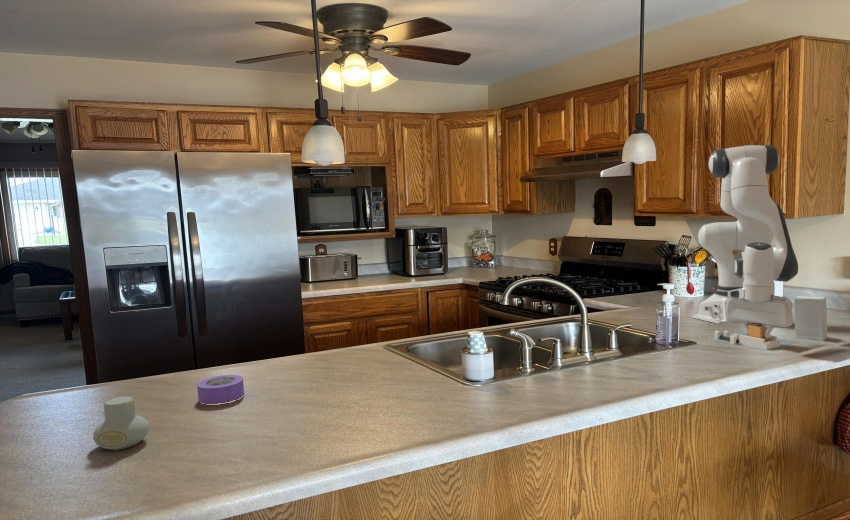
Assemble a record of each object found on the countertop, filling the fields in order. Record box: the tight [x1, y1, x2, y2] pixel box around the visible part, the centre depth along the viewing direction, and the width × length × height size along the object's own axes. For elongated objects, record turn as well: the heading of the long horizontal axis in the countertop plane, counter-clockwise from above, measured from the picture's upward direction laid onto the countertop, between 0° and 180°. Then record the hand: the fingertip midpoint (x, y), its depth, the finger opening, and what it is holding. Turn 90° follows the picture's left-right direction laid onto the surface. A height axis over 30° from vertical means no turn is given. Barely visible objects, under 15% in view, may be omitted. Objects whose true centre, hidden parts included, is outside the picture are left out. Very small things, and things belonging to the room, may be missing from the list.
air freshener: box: [92, 396, 150, 451], centre depth 127 cm, size 11×8×10 cm
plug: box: [748, 322, 768, 342], centre depth 187 cm, size 4×4×6 cm
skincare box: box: [793, 295, 828, 342], centre depth 193 cm, size 8×6×15 cm
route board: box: [706, 330, 798, 351], centre depth 193 cm, size 20×18×4 cm
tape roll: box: [196, 374, 245, 404], centre depth 157 cm, size 12×12×5 cm
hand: (757, 336), depth 187 cm, fingers closed on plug, 4 cm apart
